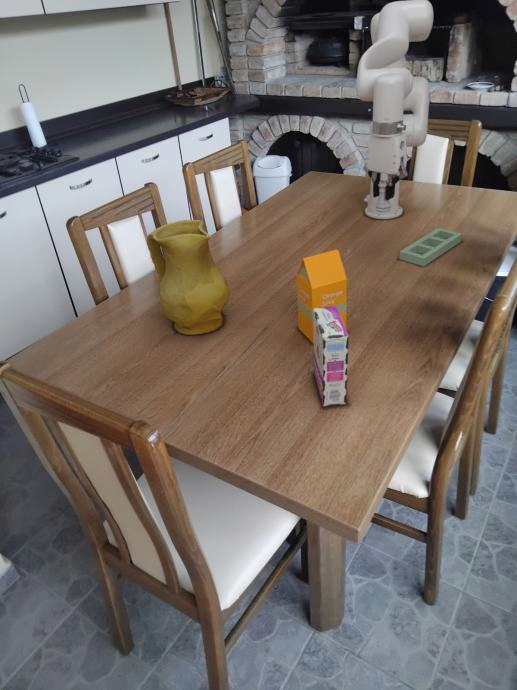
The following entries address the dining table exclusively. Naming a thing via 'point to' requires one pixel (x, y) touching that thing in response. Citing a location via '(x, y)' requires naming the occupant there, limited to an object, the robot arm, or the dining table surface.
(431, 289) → the dining table surface
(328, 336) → the candy bar box
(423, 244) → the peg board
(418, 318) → the dining table surface
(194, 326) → the pitcher
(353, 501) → the dining table surface
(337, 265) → the orange juice
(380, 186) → the rook chess piece
